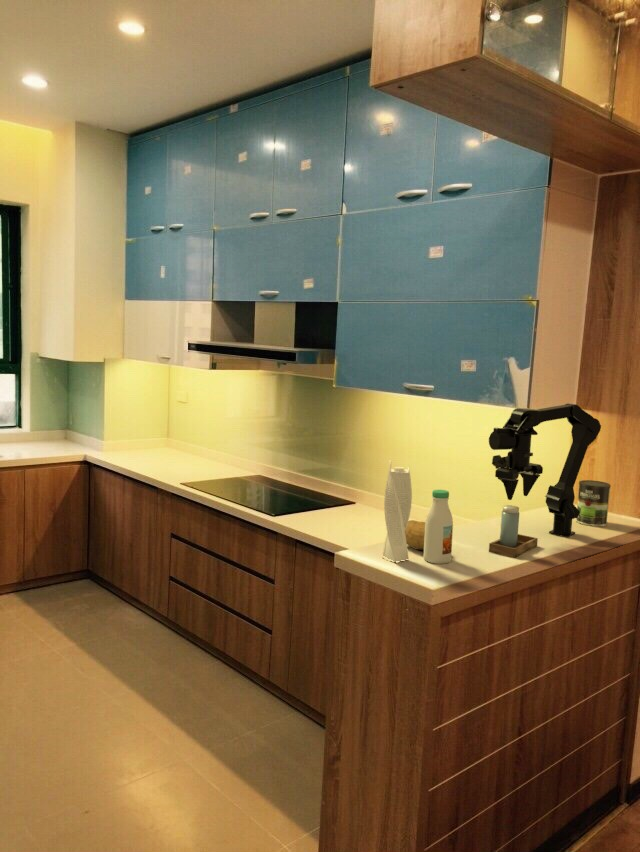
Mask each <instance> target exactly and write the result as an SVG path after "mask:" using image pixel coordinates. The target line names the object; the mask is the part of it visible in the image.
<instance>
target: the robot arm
mask: <svg viewBox="0 0 640 852" xmlns="http://www.w3.org/2000/svg"><path fill="white" fill-rule="evenodd" d="M560 419H561V420H562V419H567V421H568V423H569V424H570V425H571V426H572V428H571V438H572V442H571V446H570V449H569V451H568V453H567V456H566V459H565V463H564V465H563V468H562V470H561V473H560V475H559V479H558V482H557V483H556V484H554V485H551V484H550V485H549V487H548V489H547V493H546V494H545V496H544V497H545V504H546V507H547V509H548V512H549V513H550V514H553V523H552V525H553V527H552V530H549V531H548V534H550V533H551V534H552V535H556V536H560V535H562V537H565V536H566V537H565V538H569V537H571V536H573V535H574V534H576V531H572V529H573V520H574V519H576V518H578V516H579V513H580V512H579V510H578V509H577V506H576V505H575V498H576V497H575V490H574V486H575V484H576V480H577V478H578V475H579V473H580V470H581V466H582V465H583V462H584V459H585V456H586V453H587V450H588V447H589V446H590V445H591V444H592V443H593V442H595V441H596V439H597V438H598V435H599V433H600V432H601V428H602V424H601V423H600V420H599V419H597V418H595V417H594V416H592V415H591V414H590V413H588V412H586V411H585V410H584V409H583V408H581V407H580V405H578V404H573V403H565V404H561V405H557V406H556V405H555V406H550V407H548V406H547V407H543V408H537V409H534V408H522V407H521V408H519V407H518V408H514V409H513V411H512V412H511V413H510V416H509V417H508V419H507V420H506V422H505V423H504V425H503V426H502V427H494V428H493V431H492V432H491V433H490V435H489V437H488V445H489V447H490V448H491V450H493V451H498V450H499V451H502V450H506V451H507V450H508V452H507V455H506V456H501V454H498V455H497V454H496V455H492V459H491V465H493V466H494V467H495V469H496V470H495V473H494V475H495V476H494V477H495V478H496V479H498V480H499V481H501V483H503V486H504V490H505V494H506V497H507V500H508V501H512V499H513V497H514V495H515V492H516V489H517V486H518V483H519V479H518V478H519V475H520V477H521V478H522V492H523V496H524V497H528V495H529V493H530V491H531V490H532V488H533V487H534V485H535V484H536V482H537V480H538V479H539V478H540V477H541V474H543V472H544V467H543V466H542V465H541V464H538V463H534V462H533V463H532V462H530V461H531V457H533V456H534V452H531V449H532V447H531V445H532V436H537V435H538V434H539V433H538V432H537V431H536V430H535V429H534V428H535V427H537V426H539V425H540V424H542V423H545V422H549V421H556V420H560ZM551 534H550V535H551Z"/></svg>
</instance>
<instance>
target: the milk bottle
mask: <svg viewBox="0 0 640 852" xmlns="http://www.w3.org/2000/svg"><path fill="white" fill-rule="evenodd" d="M431 494H432V495H431V496H432V497H431V499H432V503H431V505H430V508H429V509H428V512H427V514H426V516H425V517H426V518H425V521H424V522H425V537H424V550H423V559H425V560H424V561H426V562H427V561H428V563H431V564H436V565H437V564H439V565H443V564H449V563H450V562H451V560H452V550H453V549H452V547H453V532H454V531H453V529H454V525H453V524H454V523H453V522H454V521H453V514H452V512H451V509H450V506H449V501H448V500H449V499H450V498H449V497H450V492H449V491H448V490H446V489H433V490H432V493H431Z"/></svg>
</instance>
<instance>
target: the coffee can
mask: <svg viewBox="0 0 640 852" xmlns="http://www.w3.org/2000/svg"><path fill="white" fill-rule="evenodd" d="M611 487H612V486H611V484H610V483H608V482H604V481H599V480H589V479H587V480H586V479H585V480H583V479H582V480H579V481H578V493H577V494H578V496H577V506H576V508H577V509H578V510H579V512H580V513H579V516H578V518H575V522H576V521H577V522H576V523H578V524H580V523H581V524H580V525H583V524H585V525H584V526H588V525H592V526H591V527H605V526H607V525H608V515H609V513H608V512H609V503H610V494H611V493H610V492H611V491H610V490H611Z"/></svg>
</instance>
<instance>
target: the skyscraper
mask: <svg viewBox="0 0 640 852" xmlns="http://www.w3.org/2000/svg"><path fill="white" fill-rule="evenodd" d="M388 462H389V463H388V465H389V466H388V473H387V476H386V477H387V478H386V482H385V489H384V503H383V504H384V510H383V511H384V521H385V526H386V536H385V540H384V541H385V542H384V546H383V551H382V555H383V556H385V557H387V558H388V559H391V560H393V561H394V562H396V561H401V560H406V559H409V551H408V545H407V542H406V535H405V530H406V527H407V524H408V521H410V515H411V512H412V511H411V509H412V504H413V503H412V500H413V491H412V490H413V489H412V479H411V478H412V477H411V469H410V467H409V466H408V467H407V468H405V467H404V466H394V467H393V468H392V460H391V459H390V460H389V461H388ZM409 560H410V559H409Z"/></svg>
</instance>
